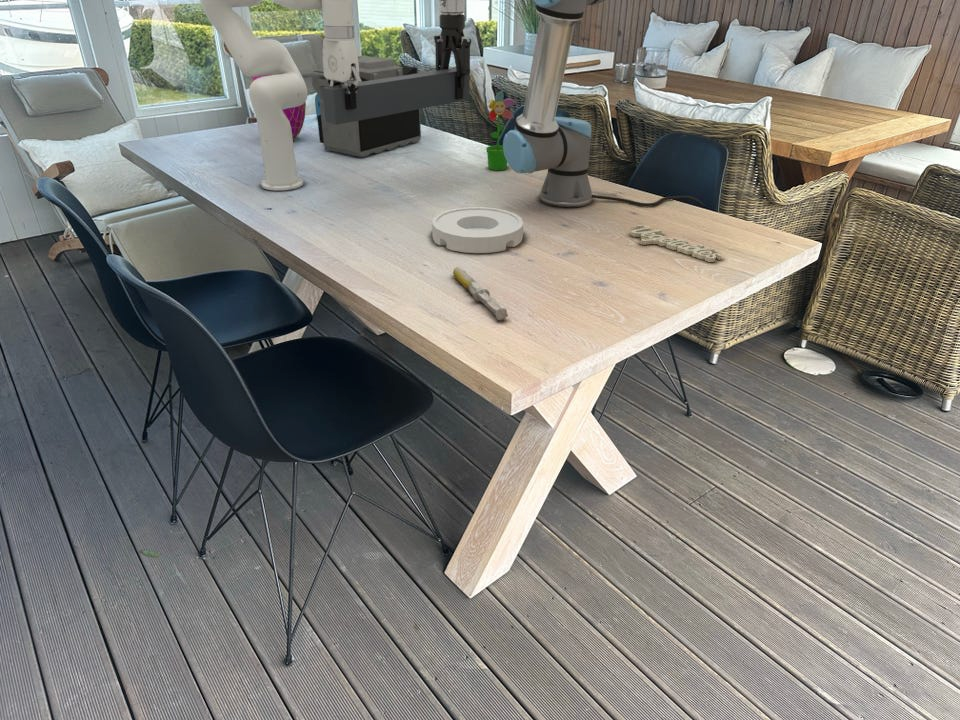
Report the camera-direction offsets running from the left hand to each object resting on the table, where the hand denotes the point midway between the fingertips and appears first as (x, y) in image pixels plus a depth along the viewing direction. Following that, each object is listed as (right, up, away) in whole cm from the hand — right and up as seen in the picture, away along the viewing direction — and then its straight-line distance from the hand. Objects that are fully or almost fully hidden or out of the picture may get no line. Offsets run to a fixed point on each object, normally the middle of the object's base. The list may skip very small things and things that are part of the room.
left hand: (344, 106), depth 185 cm
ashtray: (+36, -37, -9) cm, 52 cm away
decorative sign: (+84, -40, -13) cm, 94 cm away
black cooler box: (-4, +12, +73) cm, 74 cm away
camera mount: (-26, +36, +112) cm, 121 cm away
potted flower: (+43, -3, +48) cm, 64 cm away
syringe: (+36, -55, -40) cm, 77 cm away
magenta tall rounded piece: (-39, +16, +79) cm, 90 cm away
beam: (+14, +5, +15) cm, 21 cm away
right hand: (+28, +13, +27) cm, 41 cm away
